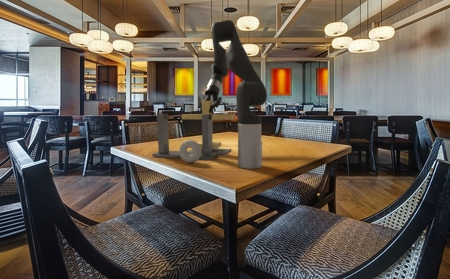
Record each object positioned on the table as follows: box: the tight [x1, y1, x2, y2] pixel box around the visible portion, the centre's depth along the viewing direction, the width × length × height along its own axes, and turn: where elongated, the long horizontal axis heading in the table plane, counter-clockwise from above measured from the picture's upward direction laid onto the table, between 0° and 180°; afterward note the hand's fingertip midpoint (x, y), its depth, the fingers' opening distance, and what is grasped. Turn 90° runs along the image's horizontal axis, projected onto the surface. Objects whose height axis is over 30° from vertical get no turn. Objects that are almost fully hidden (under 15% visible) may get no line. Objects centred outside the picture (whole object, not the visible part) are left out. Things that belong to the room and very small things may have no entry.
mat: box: [187, 147, 232, 156], centre depth 138 cm, size 20×14×1 cm
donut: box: [178, 139, 201, 164], centre depth 112 cm, size 10×4×10 cm, turn 76°
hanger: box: [181, 100, 235, 149], centre depth 137 cm, size 28×10×24 cm, turn 73°
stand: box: [151, 113, 219, 161], centre depth 125 cm, size 30×10×20 cm, turn 73°
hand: (205, 112), depth 134 cm, fingers closed on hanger, 4 cm apart
